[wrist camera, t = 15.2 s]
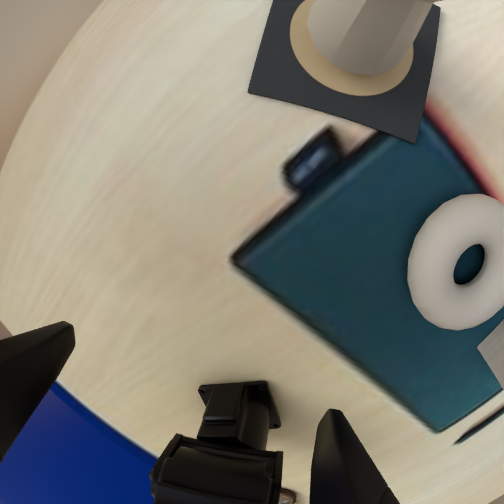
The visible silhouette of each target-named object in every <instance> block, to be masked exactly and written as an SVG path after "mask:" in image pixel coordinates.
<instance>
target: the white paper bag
mask: <svg viewBox="0 0 504 504" xmlns="http://www.w3.org/2000/svg"><path fill="white" fill-rule="evenodd" d="M477 348H478V350H479V351H480V353H481V354H482V356H483V358H484V359H485V361H486V362H487V364H488V365H489V367H490V368H491V370H492V372H493V373H494V375H495V377H496V378H497V380H498V381H499V383H500V385H501V387H502V388H503V390H504V320H503V321H502V322H501V323H500V324H499V325H498V326H497V327H496V328H495V329H494V330H493V331H492V332H491V333H490V334H489V335H488V336H487V337H486V338H485V339H484V340H483V341H482V342H481V343H480V344H479V345H478V346H477Z"/></svg>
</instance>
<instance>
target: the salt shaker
mask: <svg viewBox="0 0 504 504" xmlns="http://www.w3.org/2000/svg"><path fill="white" fill-rule="evenodd" d="M437 1H442V0H315V2H314V3H313V5H312V6H311V9H310V13H309V17H308V21H307V27H308V30H309V33H310V35H311V38H312V41H313V44H314V46H315V48H316V49H317V50H318V51H319V52H320V53H321V54H322V55H323V56H324V58H325V59H326V60H327V61H328V62H329V63H330V64H332V65H334V66H336V67H338V68H340V69H343V70H345V71H347V72H349V73H351V74H361V75H370V76H374V75H377V74H380V73H383V72H386V71H388V70H391V69H394V68H396V66H397V65H398V64H399V63H400V62H401V60H402V59H403V58H404V57H405V56H406V55H407V53H408V51H409V49H410V47H411V45H412V44H413V42H414V40H415V38H416V36H417V34H418V32H419V30H420V28H421V26H422V24H423V22H424V20H425V18H426V16H427V15H428V13H429V11H430V9H431V7H432V5H433V3H434V2H437Z"/></svg>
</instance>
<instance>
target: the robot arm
mask: <svg viewBox="0 0 504 504" xmlns="http://www.w3.org/2000/svg"><path fill="white" fill-rule="evenodd" d="M74 347H75V334H74V327H73V325H72V324H69V323H67V322H65V321H61V322H58V323H54V324H51V325H48V326H45V327H42V328H38V329H35V330H32V331H29V332H25V333H22V334H19V335H16V336H12V337H9V338H6V339H3V340H0V464H1V462H2V460H3V459H4V458H3V457H5V455H6V453H7V451H8V450H9V449H10V447H11V445H12V444H13V442H14V441H15V439H16V438H17V436H18V434H19V433H20V431H21V430H22V428H23V427H24V425H25V424H26V422H27V421H28V419H29V418H30V416H31V415H32V413H33V412H34V410H35V409H36V407H37V406H38V405H39V403H40V402H41V400H42V399H43V397H44V396H45V394H46V393H47V392H48V390H49V389H50V387H51V386H52V385H53V383H54V382H55V380H56V379H57V377H58V376H59V374H60V372H61V370H62V368H63V367H64V365H65V363H66V361H67V360H68V358H69V356H70V355H71V353H72V351H73V349H74ZM261 386H264V387H261ZM204 390H205V391H204ZM198 392H199V394H200V396H201V398H202V400H203V402H204V404H205V406H206V409H205V412H204V415H203V421H202V423H201V426H200V429H199V432H198V435H197V439H194V438H190V437H186V436H183V435H181V434H177V433H176V435H175V436H174V438H173V439H172V440H171V441H170V442H169V444H168V445H167V447H166V448H165V450H164V451H163V453H162V454H161V456H160V457H159V459H158V460H157V462H156V463H155V465H154V466H153V469H152V470H151V471H150V473H149V477H150V479H151V493H152V496H153V497H155V498H154V503H153V504H279V498H280V491H281V481H282V465H283V451H276V452H274V451H266V445H267V439H268V432H269V429H277V428H280V427H281V420H280V417H279V414H278V411H277V408H276V406H275V403H274V400H273V397H272V394H271V391H270V388H269V385H268V383H267V382H266V381H253V382H242V383H229V384H213V385H201V386H199V389H198ZM309 504H400V503H399V501H398V500H397V498H396V497H395V496H394V494H393V492H392V491H391V489H390V488H389V487H388V485H387V483H386V481H385V480H384V478H383V477H382V475H381V474H380V472H379V470H378V469H377V467H376V466H375V464H374V462H373V461H372V459H371V458H370V456H369V454H368V453H367V451H366V450H365V448H364V446H363V445H362V443H361V442H360V440H359V438H358V437H357V435H356V434H355V432H354V430H353V429H352V427H351V426H350V424H349V422H348V421H347V419H346V418H345V416H344V414H343V413H342V411H340V410H336V409H328V410H327V412H326V413H325V415H324V416H323V418H322V419H321V421H320V422H319V424H318V428H317V434H316V440H315V447H314V453H313V459H312V466H311V483H310V502H309Z"/></svg>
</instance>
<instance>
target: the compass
mask: <svg viewBox="0 0 504 504" xmlns="http://www.w3.org/2000/svg"><path fill="white" fill-rule="evenodd" d="M295 502H296V495H295V494H294V493H292V492H291V491H288V490H285V489H281V491H280V498H279V504H294V503H295Z"/></svg>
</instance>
